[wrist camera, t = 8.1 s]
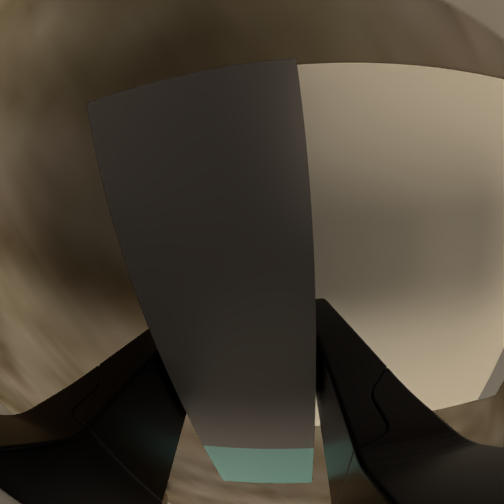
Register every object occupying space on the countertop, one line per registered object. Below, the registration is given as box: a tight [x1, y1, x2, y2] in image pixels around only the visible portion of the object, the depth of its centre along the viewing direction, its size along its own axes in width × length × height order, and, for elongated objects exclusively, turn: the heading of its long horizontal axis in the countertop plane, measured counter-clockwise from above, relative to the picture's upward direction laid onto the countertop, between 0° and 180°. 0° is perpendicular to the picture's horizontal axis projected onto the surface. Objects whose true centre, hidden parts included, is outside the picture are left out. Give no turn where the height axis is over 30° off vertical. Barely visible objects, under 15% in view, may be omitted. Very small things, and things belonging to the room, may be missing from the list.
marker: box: [87, 58, 316, 483], centre depth 8 cm, size 3×12×4 cm, turn 8°
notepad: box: [297, 63, 504, 426], centre depth 10 cm, size 15×14×1 cm
